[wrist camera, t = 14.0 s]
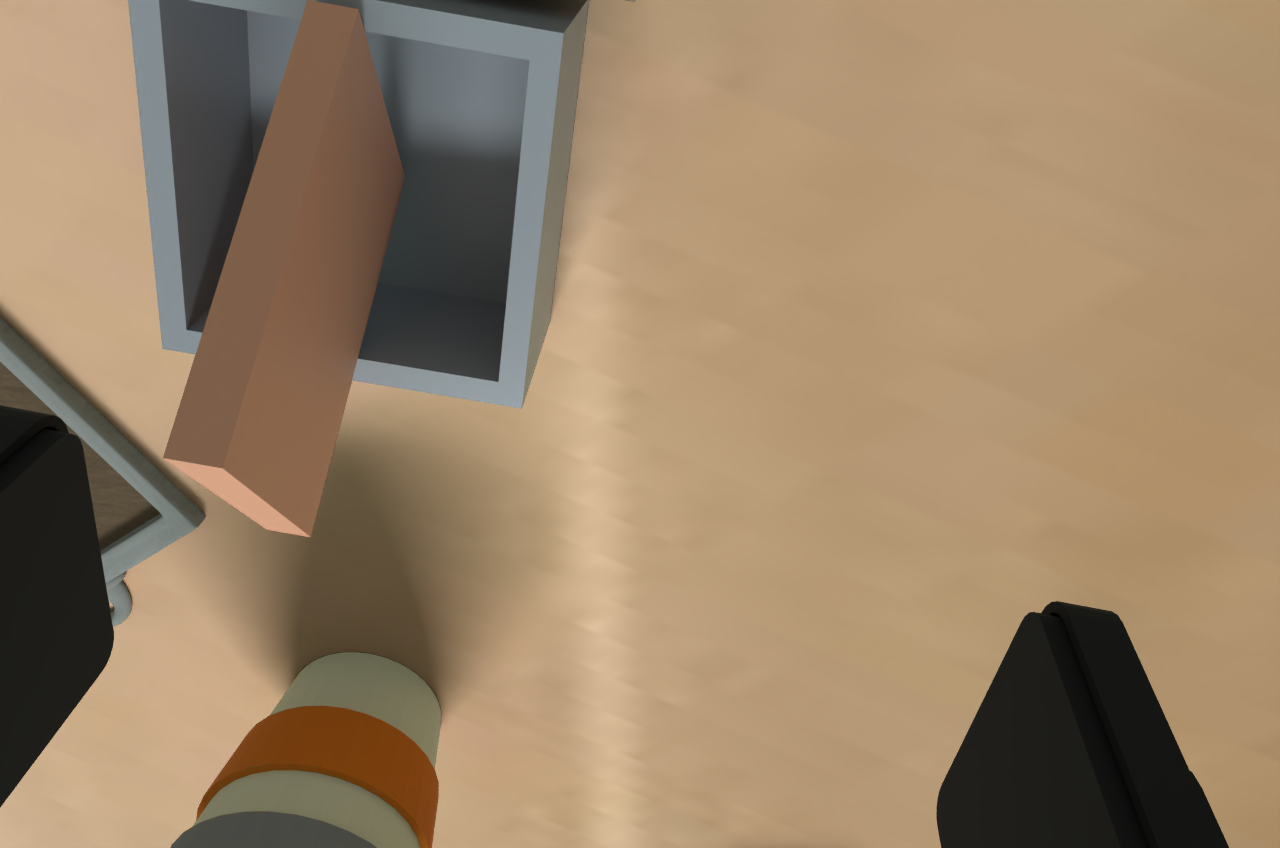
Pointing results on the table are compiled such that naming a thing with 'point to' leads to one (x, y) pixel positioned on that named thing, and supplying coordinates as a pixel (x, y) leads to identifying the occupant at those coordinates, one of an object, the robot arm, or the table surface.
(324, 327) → the block
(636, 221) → the table surface
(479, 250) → the bin
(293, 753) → the reusable coffee cup
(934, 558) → the table surface
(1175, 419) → the table surface
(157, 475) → the grey flat rectangular tray
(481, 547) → the table surface
